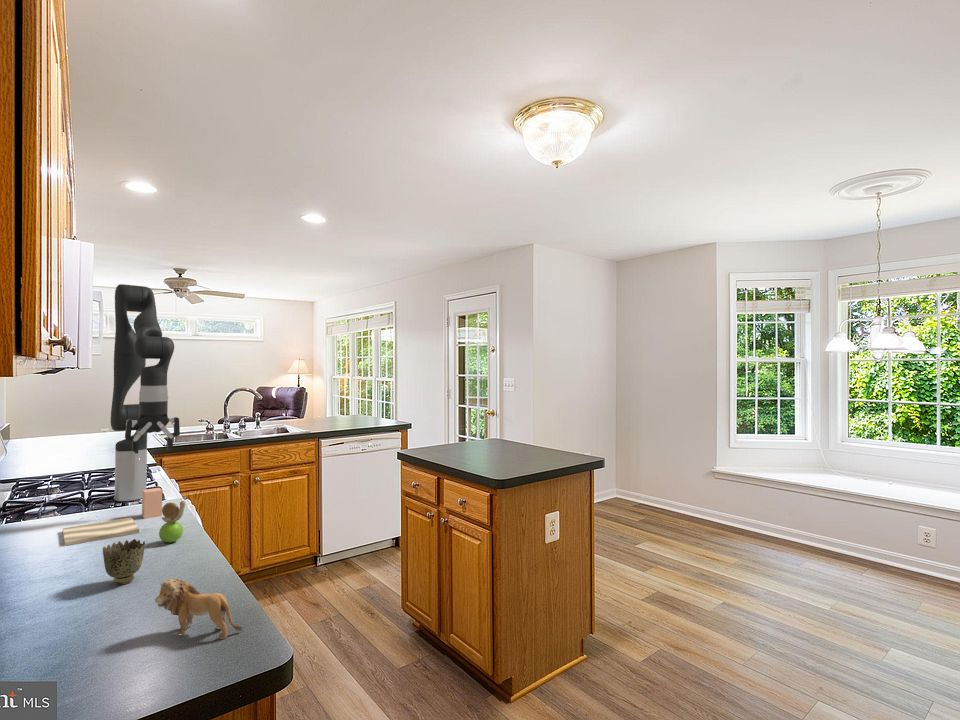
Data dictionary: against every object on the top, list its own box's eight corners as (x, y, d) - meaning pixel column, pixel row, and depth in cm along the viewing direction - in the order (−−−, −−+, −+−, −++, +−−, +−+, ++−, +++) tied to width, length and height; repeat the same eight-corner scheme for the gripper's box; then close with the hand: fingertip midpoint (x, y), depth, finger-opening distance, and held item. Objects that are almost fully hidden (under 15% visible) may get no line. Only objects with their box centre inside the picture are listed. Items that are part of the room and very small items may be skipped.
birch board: (62, 531, 140) (62, 528, 140) (131, 520, 151) (131, 517, 151) (64, 545, 129) (64, 542, 129) (139, 532, 140) (139, 529, 140)
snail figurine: (178, 545, 129) (179, 499, 130) (154, 545, 129) (154, 499, 130) (191, 538, 135) (191, 494, 135) (167, 538, 135) (168, 493, 135)
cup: (151, 579, 108) (152, 542, 109) (112, 592, 102) (113, 553, 102) (134, 572, 112) (134, 536, 112) (95, 584, 106) (96, 546, 106)
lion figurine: (148, 639, 84) (149, 586, 85) (168, 623, 90) (169, 573, 90) (235, 640, 84) (236, 586, 84) (250, 624, 90) (250, 573, 90)
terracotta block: (141, 515, 156) (142, 489, 156) (159, 512, 159) (159, 487, 159) (144, 518, 153) (144, 492, 153) (161, 516, 156) (162, 490, 156)
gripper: (177, 398, 164) (176, 448, 164) (124, 400, 155) (123, 452, 155) (182, 399, 159) (181, 450, 158) (127, 401, 149) (126, 455, 149)
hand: (152, 451), depth 156 cm, fingers open, 8 cm apart
